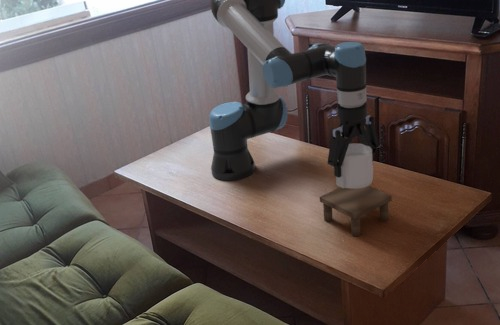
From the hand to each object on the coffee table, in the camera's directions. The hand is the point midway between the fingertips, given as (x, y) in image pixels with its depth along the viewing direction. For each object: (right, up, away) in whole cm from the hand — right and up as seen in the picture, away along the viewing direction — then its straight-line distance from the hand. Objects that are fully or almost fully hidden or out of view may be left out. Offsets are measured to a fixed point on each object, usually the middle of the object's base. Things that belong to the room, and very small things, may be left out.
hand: (354, 179), depth 164 cm
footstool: (+1, -11, +5) cm, 13 cm away
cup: (0, -1, 0) cm, 1 cm away
